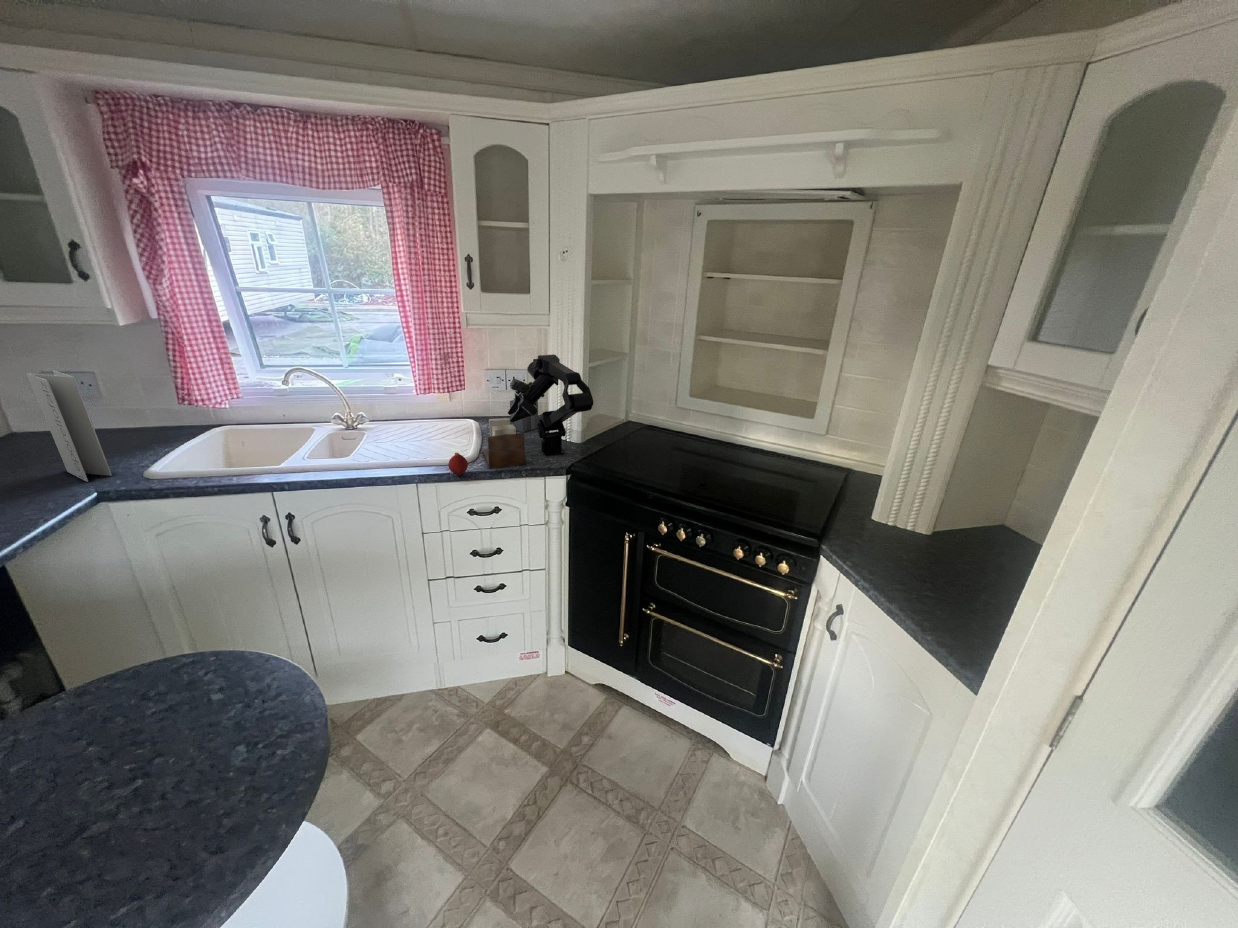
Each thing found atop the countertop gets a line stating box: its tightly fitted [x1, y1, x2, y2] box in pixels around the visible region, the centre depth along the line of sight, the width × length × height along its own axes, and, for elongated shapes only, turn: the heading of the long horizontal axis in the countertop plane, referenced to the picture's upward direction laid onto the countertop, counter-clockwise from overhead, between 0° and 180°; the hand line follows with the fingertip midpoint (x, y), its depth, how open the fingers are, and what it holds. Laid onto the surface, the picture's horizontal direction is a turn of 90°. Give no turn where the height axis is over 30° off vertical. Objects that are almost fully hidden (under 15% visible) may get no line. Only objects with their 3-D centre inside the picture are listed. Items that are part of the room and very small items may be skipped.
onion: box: [448, 451, 469, 477], centre depth 157 cm, size 6×6×8 cm
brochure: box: [26, 370, 113, 483], centre depth 143 cm, size 14×6×30 cm, turn 62°
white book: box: [488, 417, 511, 436], centre depth 174 cm, size 2×7×12 cm, turn 106°
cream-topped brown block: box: [482, 423, 526, 469], centre depth 171 cm, size 12×16×13 cm
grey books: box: [509, 397, 539, 433], centre depth 203 cm, size 9×7×13 cm
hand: (509, 417), depth 176 cm, fingers open, 9 cm apart
